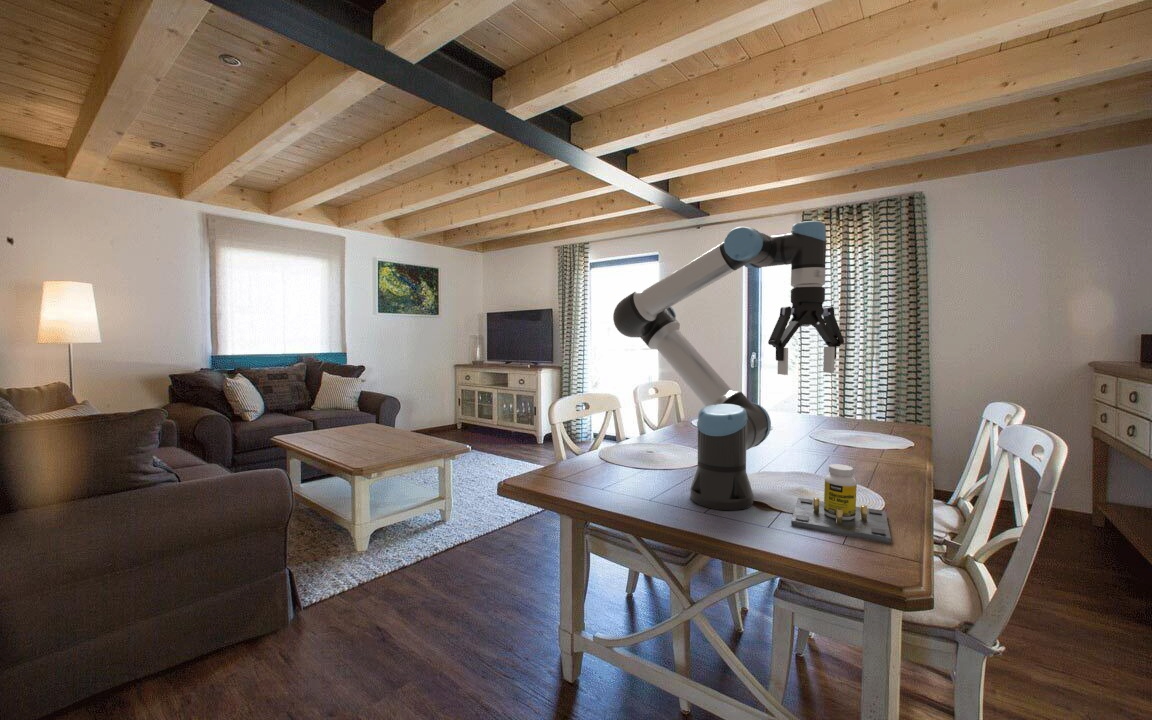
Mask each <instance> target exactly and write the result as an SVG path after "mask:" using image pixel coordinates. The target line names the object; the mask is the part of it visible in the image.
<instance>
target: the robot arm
mask: <svg viewBox="0 0 1152 720" xmlns="http://www.w3.org/2000/svg"><path fill="white" fill-rule="evenodd" d="M826 232H827V229H826V224H825V223H824V222H823V221H820V220H808V221H801V222H797V223H794V224H793V225H792V228H791V232H790V233H789V232H788V233H786V234H779V235H768V234H766V233H764V232H760V231H758V230H757V229H755V228H752V227H750V226H747V227H746V226H738V227H735V228H733V229H731V230H730V231H729V232H728V233H727V235H726V237H725V238H724V240H723V241H722V242H721V243H720V244H718V245H716V246H715V247H713V248H711V249H710V250H708V251H707V252H705V253H703V254H701V255H700V256H698V257H697V258H694V259H693V260H692V261H690V262H689V263H687V264H685V265H683V266H682V267H680V268H678V269H677V270H674V271H673V272H672V273H671V274H669V275H667V276H666V277H664V278H662V279H660V280H658V281H657V282H655V283H653V284H652V285H650V286H648V287H647V288H646V289H644V290H641V289H638V290H637V289H636V290H635V291H634V292H632V293H631V294H629V295H627V296H626V297H624V298H623V299H621V300H620V301H619V303H617V305H616V306H615V309H614V311H613V314H612V315H613V316H612V317H613V319H612V320H613V325H614V326H615V328H616V330H617V331H618V332H619V333H620V334H622V335H623V336H624V337H625V336H626V337H628V338H640V339H641V340H642V341H643V342H644V343H645V345H646V346H647V347H648V348H649V349H650V350H657V351H658V352H659V353H660V354H661V355H662V357H663V358H664V359H665V360H666V362H667V363H668V364H669V365H670V366H671V367H672V368H673V370H674V371H675V372H676V373H677V375H678V376H679V377H680V378H681V379H682V381H683V382H684V383H685V384H686V385H687V386H688V387H689V389H690V390H691V391H692V392H693V394H694V395H695V396H696V397H697V398H698V400H700V401H701V403H702V404H703V405H704V407H702V408H701V409H700V410H699V412H698V415H697V421H696V426H697V469H696V471H695V473H694V477H693V480H692V482H691V485H690V490H689V492H690V493H689V494H690V495H689V496H690V499H691V500H692V502H694V503H695V504H697V505H699V506H702V507H705V508H708V509H712V510H723V511H739V510H744V509H747V508H750V507H752V506H753V504H754V492H753V490H752V486H751V483H750V479H749V477H748V476H749V475H748V473H747V451H748V450H749V449H752V448H755V447H758V446H759V445H760V444H761V443H764V441H765V440H766V439H767V438H768V436H770V435H769V434H770V432H771V429H772V422H771V418H770V414H769V413H768V411H767V410H766V409H765V408H764V407H763V406H761V405H760V404H758V403H756V402H751V401H750V399H748V397H747V396H746V395H745V394H744V393H743V392H742V391H741V390H733V389H732V388H731V387H730V386H729V385H728V384H727V383H726V381H725V380H724V379H723V378H722V377H721V376H720V374H719V373H718V372H717V371H716V370H715V369H714V368H713V367H712V366H711V365H710V364H709V362H708V361H707V360H706V359H705V358H704V357H703V356H702V355H701V354H700V351H698V350H697V349H696V348H695V347H694V345H693V344H692V343H691V342H690V341H689V340H688V339H687V337H686V336H684V334H683V333H682V332H681V331H680V326H681V324H680V322H679V321H678V320H677V319H676V316H677V315H676V312H675V310H674V308H673V306H674V305H676V304H678V303H679V302H682V301H683V300H685V299H687V298H689V297H690V296H693V295H694V294H696V293H697V292H700V291H701V290H702V289H704V288H705V289H706V287H708V286H710V285H712V284H714V283H715V282H717V281H719V280H721V279H722V278H724V277H726V276H728V275H730V274H732V273H734V272H735V271H737V270H738V269H741V268H742V267H745V268H747V269H753V268H754V269H761V268H767V267H775V266H783V265H787V266H789V265H791V269H790V271H791V273H790V286H791V287H793V288H791V290H790V303H791V305H792V306H790V305H789V306H782V307H780V310H779V317H778V318H777V321H776V323H775V326H774V328H773V330H772V332H771V334H770V337H769V339H768V341H767V342H768V343H767V344H768V346H772V347H773V348H775V360H776V362H777V375H784V376H788V375H789V372H788V371H789V347H786V346H787V344H788V343H789V342H790V341H791V339H792V338H793V336H794V335H795V334H796V332H797V331H798V329H799V328H801V327H802V326H812V327H814V329H815V330H816V332H817V333H818V335H819V336H820V337H821V339H822V340H823V342H824V343H825V344H826V346H823V367H822V368H823V371H822V372H823V373H827V374H828V373H829V374H835V360H836V359H837V348H838V347H841V345H844V343H845V340H844V336H843V334H842V331H841V329H840V327H839V324H838V322H837V318H836V316H835V308H834V307H833V306H824V307H823V305H824V304H823V303H824V302H826V288H825V286H824V285H825V284H826V255H827V252H826V251H827V243H828V242H827V241H828V239H827V233H826ZM791 316H792V318H791Z"/></svg>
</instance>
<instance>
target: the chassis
mask: <svg viewBox="0 0 1152 720" xmlns="http://www.w3.org/2000/svg"><path fill="white" fill-rule="evenodd" d="M842 515H843V510H842V509H840V508H836V519H834V518H831V517H829V516H827V515H826V514H825V513H824V500H823V501H822V500H820V498H818V497H813V499H810V498H809V499H808V498H803V497H797V499H796V503H795V507H794V511H793V514H792V517H791V521H790V522H791V523H790V525H791V526H790V527H796V528H801V529H807V530H812V531H817V532H824V533H829V534H834V535H839V536H845V537H850V538H856V539H862V540H867V541H873V542H879V543H884V544H889V545H891V541H892V537H891V533H890V528H889V523H888V517H887V514H886V510H883V509H876V508H868V505H864V504H861V505H860V506H856V514H855V518H854V519H852V520H842Z"/></svg>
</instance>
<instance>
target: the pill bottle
mask: <svg viewBox="0 0 1152 720" xmlns="http://www.w3.org/2000/svg"><path fill="white" fill-rule="evenodd" d="M828 472H829V474H827V475H826V476H825V478H824V493H823V494H824V495H823V502H824V513H825V514H826V515H827V516H829V517H831V518H834V519H836V508H840V509H842V510H843V515H842V520H852V519H854V518H855V514H856V507H857V485H858V483H857V480H856V479H855V478H854V477H853V476H854V467H852V466H850V465H847V464H842V463H841V464H839V463H831V464H829V466H828Z"/></svg>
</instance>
